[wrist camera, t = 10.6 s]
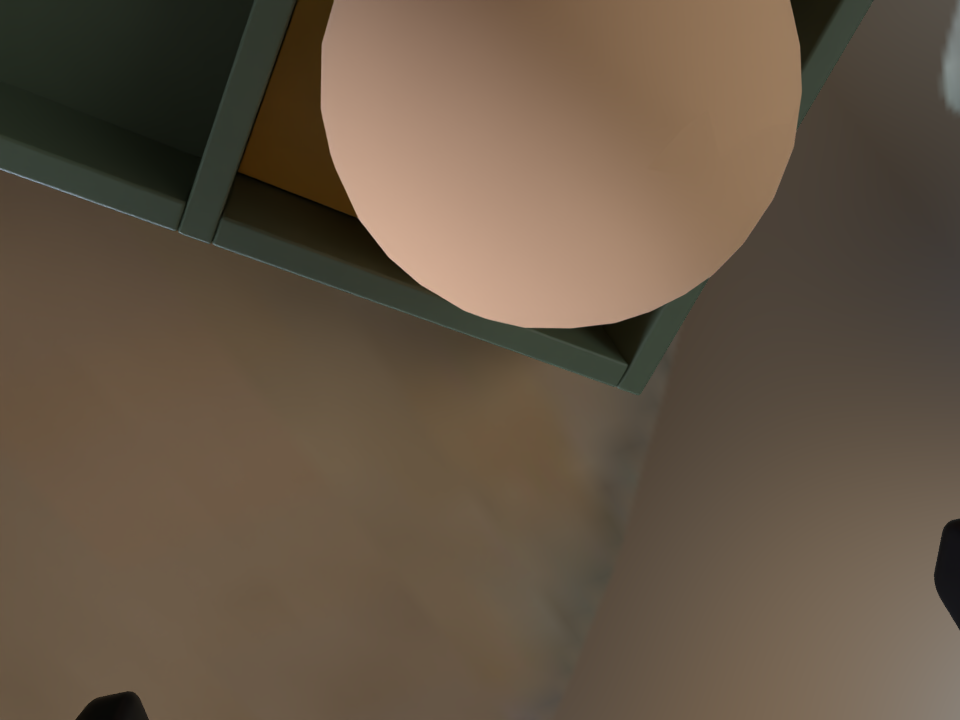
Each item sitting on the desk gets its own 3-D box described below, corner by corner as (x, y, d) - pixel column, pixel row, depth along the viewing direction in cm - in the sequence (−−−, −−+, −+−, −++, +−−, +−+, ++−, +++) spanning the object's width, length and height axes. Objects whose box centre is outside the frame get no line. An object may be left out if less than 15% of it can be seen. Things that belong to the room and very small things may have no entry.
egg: (338, -192, 15) (361, -301, 7) (721, -108, 17) (1054, -128, 9) (304, 214, 18) (296, 423, 11) (628, 250, 20) (819, 454, 12)
